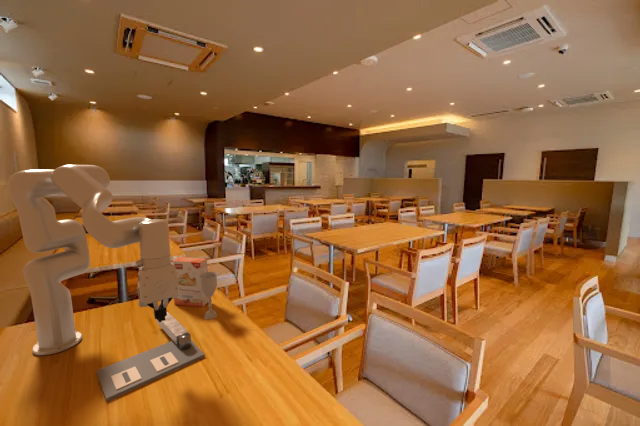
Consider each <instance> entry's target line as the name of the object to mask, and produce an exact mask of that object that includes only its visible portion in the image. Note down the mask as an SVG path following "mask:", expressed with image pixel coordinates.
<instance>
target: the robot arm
mask: <svg viewBox="0 0 640 426" xmlns="http://www.w3.org/2000/svg"><path fill="white" fill-rule="evenodd" d="M110 181H111V180H110V175H109V173H108V172H107V170H106V169H104V168H103V167H101V166H99V165H95V164H94V165H93V164H65V165H61V166H59V167H56V168H55V169H48V168H47V169H43V168H42V169H40V168H39V169H37V168H36V169H25V170H24V169H23V170H19V171H16V172H14V173H13V174H12V175H11V176H10V177H9V179H8V181H7V192H8V195H9V197H10V199H11V202H12V203H13V204H14V206H15V208H16V210H17V214H18V218H19V225H20V229H21V234H22V238H23V243H24V246H25V249H27V251H29V252H31V253H34V254H37V253H39V254H40V253H45V252H50V251H56V250H60V249H64V251H59V252H55V253H51V254H47V255H43V256H39V257H36V258H33V259H31V260H29V261H28V262H27V263H26V264H25V265H24V266H23V268H22V274H23V278H24V280H25V282H26V284H27V287H28V291H29V294H30V299H31V303H32V310H33V318H34V323H35V330H36V337H37V343H35V344H34V345H33V347H32V353H33V354H34V355H36V356H47V355H53V354H57V353H60V352H61V353H62V352H63V351H67V350H68V349H70V348H72V347H75V345H77V344H78V343H79V342H80V341H81V340H82V338H83V335H82V333H81V332H79V331H76V328H75V327H76V326H75V325H76V324H75V318H74V311H73V310H74V309H73V301H72V295H71V291H70V289H69V288H68V287H66V285H64V284H63V283H62V281H65V280H67V279H70V278H73V277H76V276H79V275H81V274H85V272H87V271H89V268H90V266H91V258H90V257H91V256H90V250H89V244H88V239H87V233H88V235H90V236H91V237H92V238H93V239H94V240H95V241H97V242H98V243H99V244H101V245H102V246H103V247H106V248H109V249H118V248H119V249H120V248H123V247H126V246H130V245H132V244H139V252H140V257H139V258H140V259H139V260H136V261H135V263H134V264H135V266H136V267H138V266H139V269H138V276H137V295H138V296H137V297H138V306H139V307H140V308H144V307H145V308H147V307H150V308H151V309H153V314H154V319H155V320H156V321H157V320H158V321H159V322H162V321H165V316H167V312H168V311H167V310H168V309H167V308H168V307H169V305H168V304H170V302H171V301H172V300H174V298H176V297H178V296H179V294H178V293H179V284H178V278H177V273H176V268H175V265H174V263H172V262H171V261H172V259H171V246H170V245H171V243H170V233H169V232H170V231H169V223H168V222H167V220H165V219H162V218H161V219H160V218H156V219H155V218H153V219H152V218H149V217H145V216H136V217H130V218H123V219H118V220H114V221H113V220H110V219H109V218H108V217H106V215H104V214H103V213H102V212H103V211H105V210H106V209H107V208H108V207H109V206H110V205H111V204H112V201H113V199H114V196H113V194H112V192H111V191H110V190H109V189H108V187H109V185H110V183H111V182H110ZM57 196H67V197H68V198H69V199H70V200H72V202H74V203H75V204H76V205H77V206H79V208H80V209H82V211H81V220H82V223H80V222H79V221H77V220H75V219H70V218H69V219H61V220H58V219H57V217H56V215H57V214H56V210H55V208H54V206H53V205H52V204H51V203H50V202H49V201H48V199H46V198H45V197H57ZM82 224H83V225H82ZM159 302H160V304H159Z"/></svg>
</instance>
